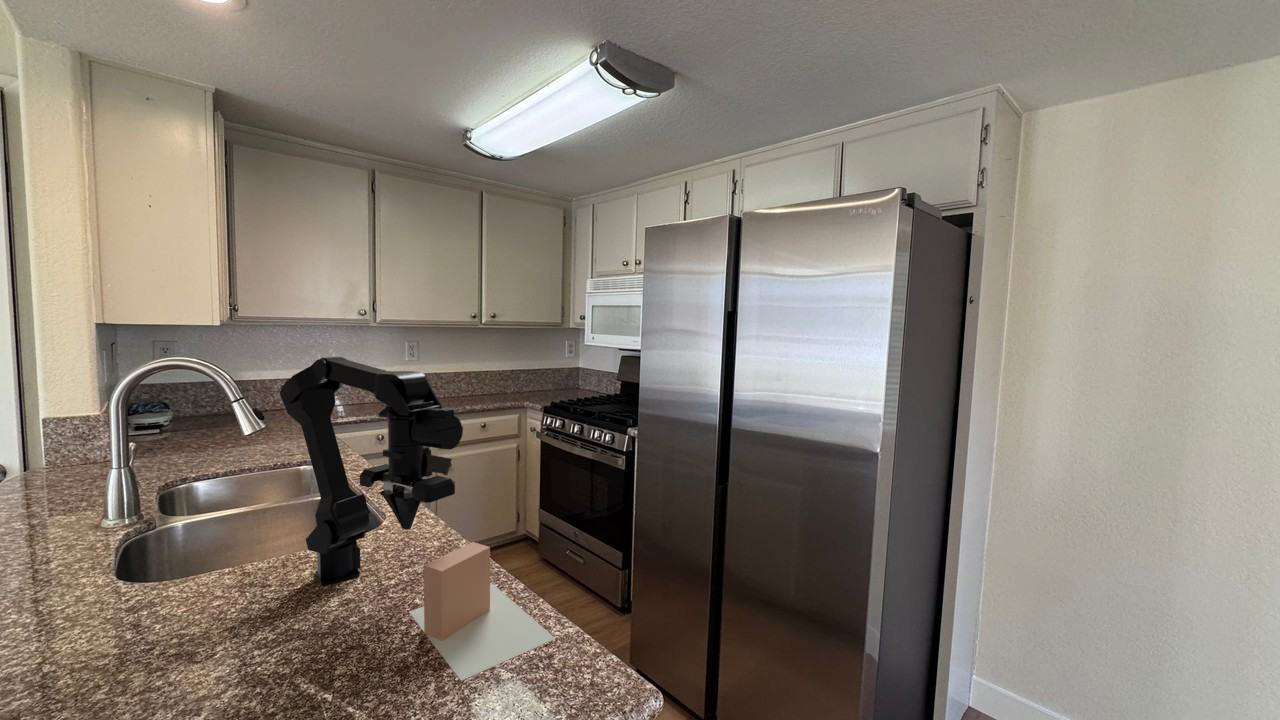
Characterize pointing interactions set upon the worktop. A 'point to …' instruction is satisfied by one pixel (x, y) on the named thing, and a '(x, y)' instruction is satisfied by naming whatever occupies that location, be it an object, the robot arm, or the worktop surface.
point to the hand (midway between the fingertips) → (407, 529)
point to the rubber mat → (489, 637)
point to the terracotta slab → (456, 590)
